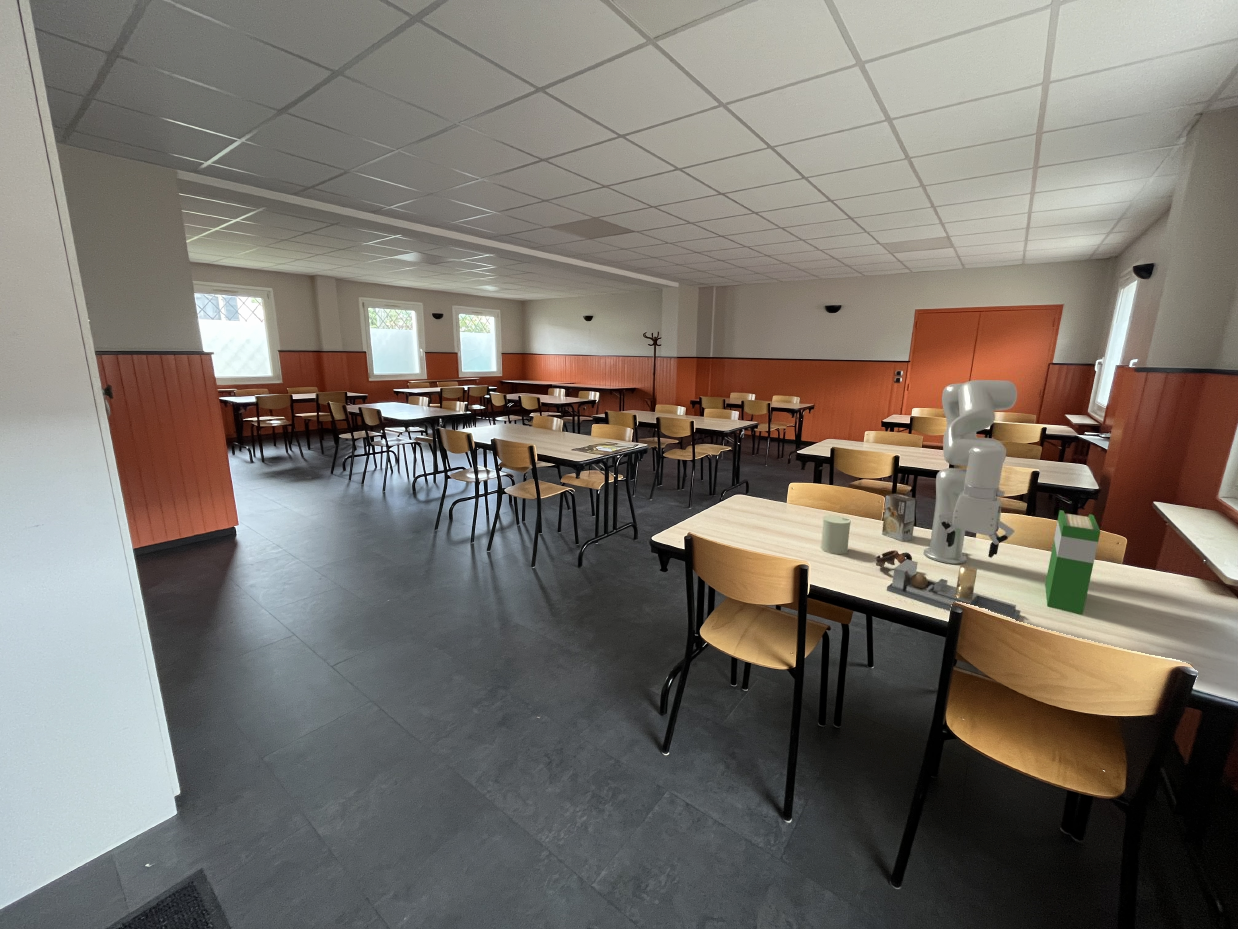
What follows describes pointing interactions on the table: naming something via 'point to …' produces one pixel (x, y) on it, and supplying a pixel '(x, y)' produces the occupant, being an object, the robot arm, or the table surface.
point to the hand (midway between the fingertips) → (970, 550)
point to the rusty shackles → (892, 558)
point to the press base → (926, 595)
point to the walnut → (919, 581)
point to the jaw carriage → (960, 586)
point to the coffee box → (899, 517)
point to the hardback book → (1071, 562)
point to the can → (835, 534)
